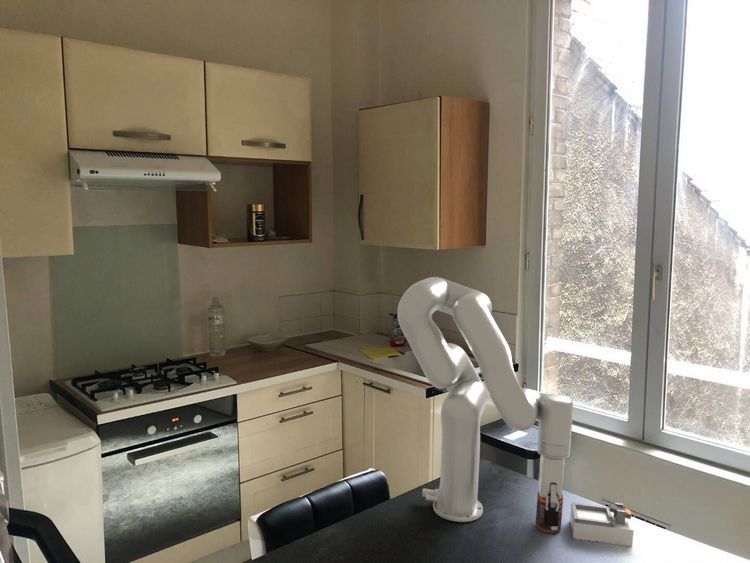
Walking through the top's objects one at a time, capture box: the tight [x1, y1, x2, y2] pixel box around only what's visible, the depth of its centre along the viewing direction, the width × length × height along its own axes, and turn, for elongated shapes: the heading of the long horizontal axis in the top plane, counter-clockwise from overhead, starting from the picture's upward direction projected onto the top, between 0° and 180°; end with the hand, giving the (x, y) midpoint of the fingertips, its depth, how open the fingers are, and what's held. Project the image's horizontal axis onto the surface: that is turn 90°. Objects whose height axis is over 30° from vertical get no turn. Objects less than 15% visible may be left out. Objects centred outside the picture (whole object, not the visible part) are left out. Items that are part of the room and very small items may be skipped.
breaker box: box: [569, 502, 635, 547], centre depth 146 cm, size 13×8×7 cm, turn 78°
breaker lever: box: [607, 502, 633, 520], centre depth 145 cm, size 5×2×1 cm, turn 78°
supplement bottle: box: [535, 490, 564, 534], centre depth 148 cm, size 6×6×11 cm
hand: (549, 515), depth 148 cm, fingers open, 8 cm apart
